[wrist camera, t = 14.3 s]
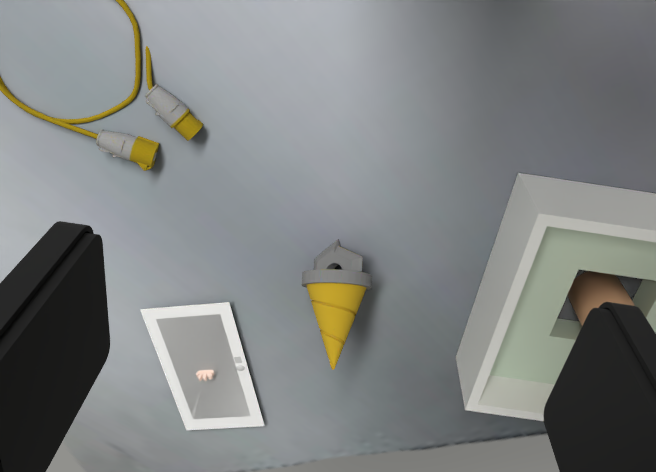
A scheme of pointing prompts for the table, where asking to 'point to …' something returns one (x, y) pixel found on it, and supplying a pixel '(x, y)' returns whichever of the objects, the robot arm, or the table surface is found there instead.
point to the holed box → (548, 286)
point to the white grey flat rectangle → (204, 365)
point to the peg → (596, 292)
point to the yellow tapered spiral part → (336, 295)
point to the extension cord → (119, 142)
